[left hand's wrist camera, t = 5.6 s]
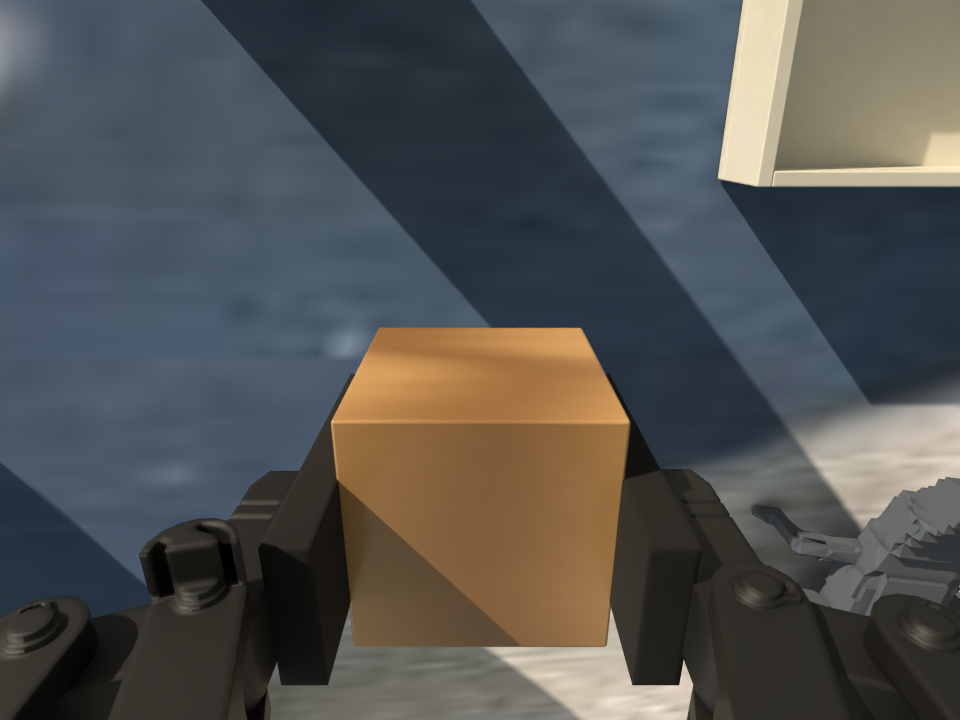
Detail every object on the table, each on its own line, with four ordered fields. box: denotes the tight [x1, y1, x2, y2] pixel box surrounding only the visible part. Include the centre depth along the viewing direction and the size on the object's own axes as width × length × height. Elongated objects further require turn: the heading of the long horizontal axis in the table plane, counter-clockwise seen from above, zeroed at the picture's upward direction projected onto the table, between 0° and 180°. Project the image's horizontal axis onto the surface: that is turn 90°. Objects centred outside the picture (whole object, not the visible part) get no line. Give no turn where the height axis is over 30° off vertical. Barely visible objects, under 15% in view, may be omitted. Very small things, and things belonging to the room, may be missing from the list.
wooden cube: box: [331, 328, 631, 647], centre depth 13 cm, size 5×5×5 cm
